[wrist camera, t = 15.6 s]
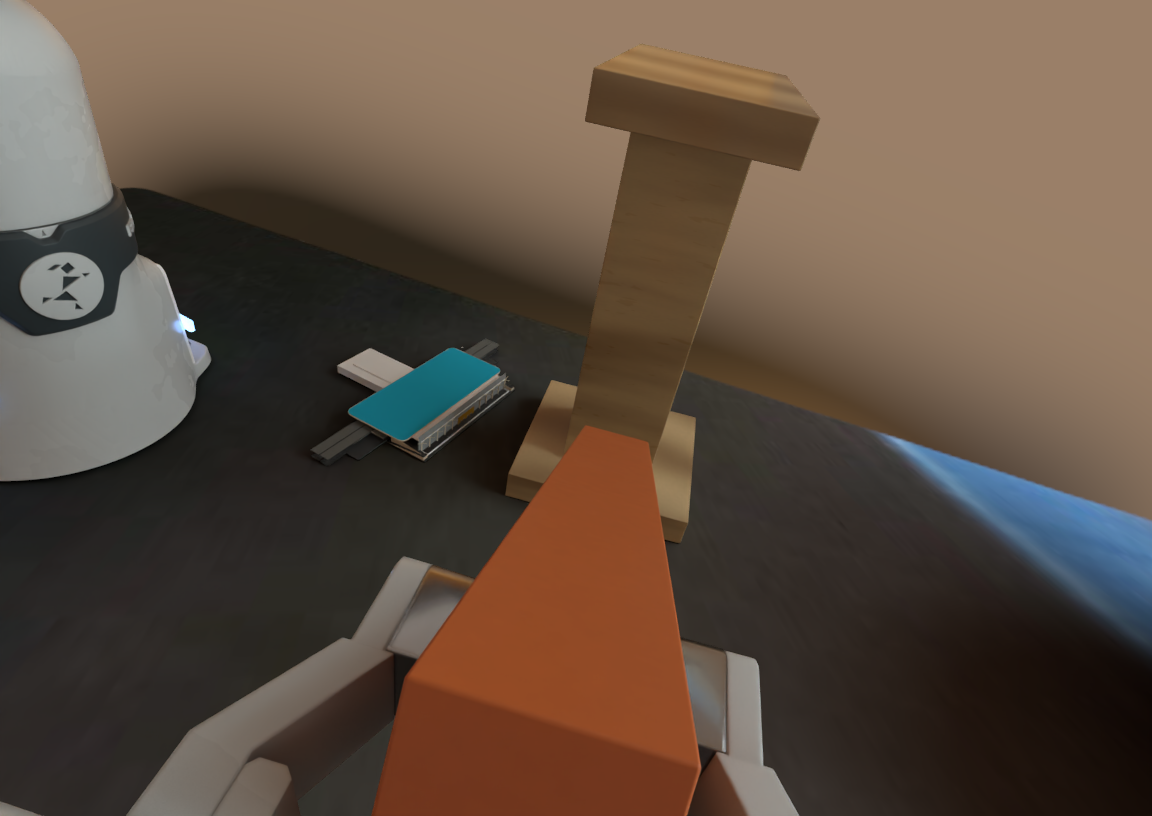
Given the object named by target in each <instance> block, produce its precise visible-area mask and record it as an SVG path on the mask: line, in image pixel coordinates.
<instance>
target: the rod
mask: <svg viewBox="0 0 1152 816" xmlns="http://www.w3.org/2000/svg"><path fill="white" fill-rule="evenodd" d="M700 771H701V763H700V757H699V750H698V744H697V738H696V732H695V726H694V720H693V714H692V707H691V701H690V695H689V689H688V683H687V677H686V671H685V664H684V658H683V652H682V646H681V640H680V634H679V628H678V622H677V615H676V609H675V603H674V597H673V591H672V585H671V579H670V572H669V566H668V560H667V554H666V548H665V542H664V536H663V529H662V523H661V517H660V511H659V505H658V499H657V493H656V487H655V480H654V474H653V468H652V462H651V456H650V450H649V444H648V442H646V441H643V440H639V439H635V438H632V437H628V436H624V435H620V434H617V433H613V432H609V431H606V430H602V429H598V428H595V427H591V426H587V425H585V426H584V428H583V429H582V431H581V432H580V433H579V435H578V436H577V438H576V439H575V440H574V442H573V443H572V445H571V446H570V447H569V449H568V450H567V451H566V453H565V454H564V456H563V457H562V458H561V460H560V461H559V463H558V464H557V465H556V467H555V468H554V470H553V471H552V472H551V474H550V475H549V477H548V478H547V479H546V481H545V482H544V484H543V485H542V486H541V488H540V489H539V491H538V492H537V493H536V495H535V496H534V498H533V499H532V500H531V502H530V503H529V505H528V506H527V507H526V509H525V510H524V511H523V513H522V514H521V516H520V517H519V518H518V520H517V521H516V523H515V524H514V525H513V527H512V528H511V530H510V531H509V532H508V534H507V535H506V537H505V538H504V539H503V541H502V542H501V544H500V545H499V546H498V548H497V549H496V551H495V552H494V553H493V555H492V556H491V558H490V559H489V560H488V562H487V563H486V565H485V566H484V567H483V569H482V570H481V572H480V573H479V574H478V576H477V577H476V578H475V580H474V581H473V583H472V584H471V585H470V587H469V588H468V590H467V591H466V592H465V594H464V595H463V597H462V598H461V599H460V601H459V602H458V604H457V605H456V606H455V608H454V609H453V611H452V612H451V613H450V615H449V616H448V618H447V619H446V620H445V622H444V623H443V625H442V626H441V627H440V629H439V630H438V632H437V633H436V634H435V636H434V637H433V638H432V640H431V641H430V643H429V644H428V645H427V647H426V648H425V650H424V651H423V652H422V654H421V655H420V657H419V658H418V659H417V661H416V662H415V664H414V665H413V666H412V668H411V669H410V671H409V672H408V673H407V675H406V676H405V678H404V682H403V686H402V691H401V695H400V699H399V703H398V707H397V711H396V716H395V720H394V724H393V728H392V732H391V736H390V740H389V745H388V749H387V753H386V757H385V761H384V765H383V770H382V774H381V778H380V782H379V786H378V790H377V795H376V799H375V803H374V807H373V811H372V815H371V816H687V814H688V811H689V807H690V804H691V801H692V797H693V794H694V791H695V787H696V784H697V781H698V777H699V774H700Z"/></svg>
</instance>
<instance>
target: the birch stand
mask: <svg viewBox="0 0 1152 816" xmlns="http://www.w3.org/2000/svg"><path fill="white" fill-rule="evenodd" d="M585 121H586V122H590V123H594V124H599V125H603V126H607V127H611V128H616V129H620V130H624V131H629V132H631V134H630V138H629V143H628V148H627V153H626V158H625V162H624V167H623V172H622V176H621V181H620V186H619V191H618V196H617V200H616V205H615V210H614V215H613V220H612V224H611V229H610V234H609V239H608V243H607V248H606V253H605V258H604V262H603V268H602V272H601V277H600V282H599V286H598V291H597V296H596V301H595V306H594V310H593V315H592V320H591V325H590V329H589V334H588V339H587V344H586V348H585V353H584V358H583V363H582V368H581V372H580V377H579V382H578V387H576V386H572V385H568V384H565V383H561V382H557V381H553V380H551V382H550V384H549V387H548V389H547V391H546V393H545V395H544V397H543V400H542V402H541V404H540V406H539V408H538V410H537V413H536V415H535V417H534V419H533V421H532V423H531V426H530V428H529V430H528V432H527V434H526V436H525V439H524V441H523V443H522V445H521V447H520V449H519V451H518V454H517V456H516V458H515V460H514V462H513V464H512V467H511V469H510V471H509V473H508V479H507V486H506V493H505V495H506V496H510V497H513V498H517V499H521V500H524V501H528V502H531V500H532V499H533V498H534V496H535V495H536V493H537V492H538V491H539V489H540V488H541V486H542V485H543V484H544V482H545V481H546V479H547V478H548V477H549V475H550V474H551V472H552V471H553V470H554V468H555V467H556V465H557V464H558V463H559V461H560V460H561V458H562V457H563V456H564V454H565V453H566V451H567V450H568V449H569V447H570V446H571V445H572V443H573V442H574V440H575V439H576V438H577V436H578V435H579V433H580V432H581V431H582V429H583V428H584V426H585V425H587V426H591V427H595V428H598V429H602V430H606V431H609V432H613V433H617V434H620V435H624V436H628V437H632V438H635V439H639V440H643V441H646V442H648V444H649V450H650V456H651V462H652V468H653V474H654V480H655V487H656V493H657V499H658V505H659V511H660V517H661V523H662V529H663V536H664V539H665V540H669V541H672V542H676V543H680V542H681V539H682V537H683V534H684V532H685V529H686V527H687V524H688V517H689V504H690V490H691V477H692V463H693V450H694V437H695V423H696V418H694V417H690V416H687V415H683V414H679V413H675V412H671V411H670V410H671V407H672V403H673V400H674V397H675V394H676V391H677V388H678V385H679V382H680V379H681V376H682V373H683V370H684V367H685V364H686V360H687V357H688V354H689V351H690V348H691V345H692V342H693V339H694V336H695V333H696V330H697V327H698V324H699V321H700V318H701V315H702V312H703V308H704V306H705V302H706V299H707V296H708V293H709V290H710V287H711V284H712V281H713V278H714V275H715V272H716V269H717V266H718V262H719V259H720V256H721V253H722V250H723V247H724V244H725V241H726V238H727V235H728V232H729V229H730V226H731V223H732V220H733V217H734V213H735V211H736V208H737V204H738V201H739V198H740V195H741V192H742V189H743V186H744V183H745V180H746V177H747V174H748V171H749V168H750V165H751V162H752V160H754V161H759V162H763V163H767V164H772V165H776V166H781V167H785V168H789V169H793V170H798V171H800V170H801V168H802V166H803V163H804V161H805V158H806V156H807V153H808V150H809V148H810V145H811V142H812V140H813V137H814V134H815V132H816V129H817V126H818V123H819V121H820V117H819V116H818V115H817V114H816V112H815V111H814V110H813V109H812V107H811V106H810V105H809V104H808V102H807V101H806V100H805V99H804V97H803V96H802V95H801V93H800V92H799V91H798V90H797V88H796V87H795V86H794V85H793V83H792V82H791V81H790V79H789V78H788V77H787V76H786V75H781V74H776V73H772V72H767V71H763V70H758V69H753V68H749V67H745V66H740V65H735V64H730V63H726V62H722V61H717V60H713V59H708V58H704V57H699V56H694V55H689V54H685V53H681V52H676V51H672V50H667V49H663V48H658V47H654V46H649V45H645V44H640V45H638V46H636V47H634V48H632V49H630V50H628V51H626V52H624V53H622V54H620V55H618V56H616V57H614V58H612V59H610V60H608V61H606V62H605V63H603V64H600V65H599V66H597V67H595V68H594V70H593V76H592V82H591V88H590V94H589V100H588V106H587V112H586V118H585Z"/></svg>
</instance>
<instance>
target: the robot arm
mask: <svg viewBox="0 0 1152 816" xmlns="http://www.w3.org/2000/svg"><path fill="white" fill-rule="evenodd" d="M137 253H138V245H137V241H136V238H135V234H134V223H133V219H132V216H131V213H130V210H128V208H127V206H126V203H125V200H124V197H123V194H122V192H121V190H120V189H119V188H118V187H116V186H115V185H114V184H113V183H111V181H110V177H109V174H108V170H107V166H106V162H105V159H104V155H103V151H102V147H101V144H100V140H99V136H98V133H97V129H96V126H95V122H94V118H93V114H92V111H91V107H90V104H89V99H88V96H87V92H86V88H85V85H84V81H83V77H82V74H81V70H80V66H79V63H78V60H77V58H76V56H75V55H74V53H73V51H72V50H71V48H70V46H69V45H68V43H67V42H66V41H65V39H64V38H63V37H62V36H61V34H60V33H59V32H58V31H57V30H56V28H55V27H54V26H53V25H52V24H51V23H50V22H49V21H48V20H47V19H46V18H45V17H44V16H43V15H42V14H41V13H39V11H38V10H37V9H35V8H34V7H33V6H32V5H31V4H29V3H28V2H27V1H26V0H0V481H23V480H35V479H43V478H51V477H57V476H62V475H68V474H72V473H77V472H81V471H85V470H89V469H92V468H96V467H99V466H102V465H105V464H108V463H111V462H114V461H116V460H119V459H121V458H124V457H126V456H129V455H131V454H133V453H135V452H137V451H139V450H141V449H143V448H145V447H147V446H149V445H151V444H152V443H154V442H156V441H157V440H159V439H160V438H162V437H163V436H165V435H166V434H167V433H169V432H170V431H171V430H172V429H174V428H175V427H176V426H177V425H178V424H179V423H180V422H181V421H182V420H183V419H184V418H185V416H186V415H187V414H188V412H189V411H190V409H191V407H192V405H193V403H194V399H195V394H196V381H197V379H198V377H199V376H200V375H201V374H202V373H203V372H204V370H205V369H206V368H207V367H208V365H209V364H210V362H211V357H210V354H209V351H208V349H207V347H206V346H205V345H203V344H201V343H198V342H196V341H193V340H190V339H188V338H187V336H186V332H185V329H186V330H188V331H190V332H193V331H195V329H194V324H193V321H191V320H190V319H188V318H186V317H184V316H183V315H181V314H179V311H178V308H177V305H176V302H175V299H174V296H173V293H172V290H171V287H170V284H169V281H168V278H167V276H166V273H165V271H164V270H163V268H162V267H161V266H160V265H159V264H155V263H154V262H152V261H151V260H149V259H148V258H145V257H143V256H141V255H138V254H137ZM474 580H475V578H473V577H470V576H466V575H463V574H460V573H457V572H453V571H450V570H447V569H444V568H441V567H437V566H434V565H432V564H428V563H425V562H422V561H418V560H415V559H411V558H408V557H404V556H403V557H402V558H401V559H400V560H399V561H398V562H397V564H396V565H395V566H394V568H393V570H392V571H391V573H390V575H389V577H388V578H387V580H386V582H385V583H384V585H383V587H382V588H381V590H380V592H379V593H378V595H377V597H376V599H375V600H374V602H373V604H372V605H371V607H370V609H369V610H368V612H367V614H366V615H365V617H364V619H363V621H362V622H361V624H360V626H359V627H358V629H357V631H356V632H355V634H354V636H353V637H352V639H351V640H350V639H346V638H341V639H339V640H338V641H336V642H334V643H333V644H331V645H329V646H328V647H326V648H324V649H323V650H321V651H319V652H318V653H316V654H314V655H313V656H311V657H309V658H308V659H306V660H305V661H303V662H301V663H300V664H298V665H296V666H295V667H293V668H291V669H290V670H288V671H286V672H285V673H283V674H281V675H280V676H278V677H276V678H275V679H273V680H272V681H270V682H268V683H267V684H265V685H263V686H262V687H260V688H258V689H257V690H255V691H253V692H252V693H250V694H248V695H247V696H245V697H243V698H242V699H240V700H239V701H237V702H235V703H234V704H232V705H230V706H229V707H227V708H225V709H224V710H222V711H220V712H219V713H217V714H215V715H214V716H212V717H211V718H209V719H207V720H206V721H204V722H202V723H201V724H199V725H197V726H196V727H194V728H192V729H191V730H189V731H188V733H187V734H186V735H185V737H184V738H183V739H182V741H181V742H180V744H179V745H178V746H177V748H176V749H175V750H174V752H173V753H172V754H171V756H170V757H169V758H168V760H167V761H166V762H165V764H164V765H163V766H162V768H161V769H160V771H159V772H158V773H157V775H156V776H155V777H154V779H153V780H152V781H151V783H150V784H149V785H148V787H147V788H146V789H145V791H144V792H143V793H142V795H141V796H140V797H139V799H138V800H137V802H136V803H135V804H134V806H133V807H132V808H131V810H130V811H129V812H128V814H127V815H126V816H301V815H300V811H299V807H298V803H297V801H298V800H299V799H300V798H301V797H302V796H304V795H305V794H306V793H307V792H308V791H309V790H311V789H312V788H313V787H314V786H315V785H317V784H318V783H319V782H320V781H321V780H322V779H324V778H325V777H326V776H327V775H328V774H330V773H331V772H332V771H333V770H334V769H336V768H337V767H338V766H339V765H340V764H341V763H343V762H344V761H345V760H346V759H347V758H349V757H350V756H351V755H352V754H353V753H354V752H356V751H357V750H358V749H359V748H360V747H362V746H363V745H364V744H365V743H366V742H368V741H369V740H370V739H371V738H372V737H373V736H375V735H376V734H377V733H378V732H379V731H381V730H382V729H383V728H384V727H385V726H387V725H388V724H389V723H390V722H391V721H392V720H394V715H395V716H396V711H397V707H398V703H399V699H400V695H401V691H402V686H403V682H404V678H405V676H406V675H407V673H408V672H409V671H410V669H411V668H412V666H413V665H414V664H415V662H416V661H417V659H418V658H419V657H420V655H421V654H422V652H423V651H424V650H425V648H426V647H427V645H428V644H429V643H430V641H431V640H432V638H433V637H434V636H435V634H436V633H437V632H438V630H439V629H440V627H441V626H442V625H443V623H444V622H445V620H446V619H447V618H448V616H449V615H450V613H451V612H452V611H453V609H454V608H455V606H456V605H457V604H458V602H459V601H460V599H461V598H462V597H463V595H464V594H465V592H466V591H467V590H468V588H469V587H470V585H471V584H472V583H473V581H474ZM680 640H681V646H682V652H683V658H684V664H685V671H686V677H687V683H688V689H689V695H690V701H691V707H692V714H693V720H694V726H695V732H696V738H697V744H698V750H699V757H700V763H701V771H700V774H699V777H698V781H697V784H696V787H695V791H694V794H693V797H692V801H691V804H690V807H689V811H688V814H687V816H799V815H798V813H797V811H796V809H795V808H794V806H793V804H792V802H791V800H790V799H789V797H788V795H787V793H786V791H785V790H784V788H783V786H782V784H781V782H780V781H779V779H778V777H777V775H776V774H775V772H774V770H773V769H772V768H769V767H766V766H763V747H762V725H761V703H760V681H759V666H758V664H757V662H756V660H755V659H753V658H750V657H746V656H743V655H739V654H735V653H731V652H728V651H724V650H723V649H721V648H718V647H714V646H710V645H707V644H703V643H699V642H696V641H692V640H689V639H685V638H681V637H680ZM0 816H42V815H39V814H36V813H33V812H30V811H27V810H24V809H21V808H18V807H15V806H12V805H9V804H6V803H3V802H0Z"/></svg>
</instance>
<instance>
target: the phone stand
mask: <svg viewBox="0 0 1152 816" xmlns="http://www.w3.org/2000/svg"><path fill="white" fill-rule="evenodd" d="M491 342H492V341H490V340H487V339H484V340H483V341H481V342H479V343H478V344H476V345H475V346H473V347H472V348H469V349H468V350H466V351H464V352H463V351H460V350H458V349H456V348H449V349H447V350H445V351H444V352H442V353H440V354H439V355H437V356H435V357H434V358H432V359H431V360H429V361H427V362H426V363H424V364H422V365H421V366H419V367H417V368H416V369H413V368H411V367H409V366H406V365H404V364H402V363H400V362H398V361H396V360H394V359H392V358H390V357H388V356H386V355H383V354H381V353H379V352H377V351H375V350H373V349H371V348H370V349H368V350H366V351H364V352H362V353H360V354H358V355H356V356H354V357H352V358H350V359H349V360H347V361H345V362H343V363H341V364H339V365H337V367H338V373H340V374H342V375H344V376H346V377H348V378H350V379H352V380H354V381H356V382H358V383H360V384H362V385H364V386H366V387H368V388H370V389H372V390H374V391H376V393H375V394H373V395H371V396H370V397H368V398H366V399H365V400H363V401H361V402H360V403H358V404H356V405H355V406H353V407H351V408H350V409H349V410H348V414H349V415H350V416H352V417H354V418H355V419H357V420H355V421H354V422H352V423H351V424H349V425H348V426H346V427H344V428H343V429H341V430H340V431H338V432H336V433H335V434H334V435H333V436H331V437H330V438H328V439H327V440H325V441H323V442H322V443H320V444H319V445H317V446H316V447H314V448H312V449H311V450H312V451H313V452H315V453H314V454H313V455H311V457H313V458H315V459H317V460H318V461H319V460H320V459H322V458H323V457H324V459H322V460H321V461H320V462H322V463H324V464H325V465H327V466H329V465H330V464H332V463H333V462H335V461H336V460H338V459H339V458H340V457H342V456H343V455H345V454H347V455H349V456H351V457H353V458H354V459H356V460H358V461H359V460H360V459H362V458H363V457H364V456H366V455H367V454H369V453H370V452H372V451H373V450H374V449H376V448H377V447H379V446H380V445H381V444H383V443H384V442H387V440H389V439H390V438H391V442H387V443H389V444H391V445H393V446H395V447H397V448H398V449H400V450H402V451H404V452H406V453H408V454H410V455H412V456H413V457H415V458H417V459H419V460H421V461H423V462H426V461H427V460H428V459H429V458H431V457H432V456H433V455H434V454H436V453H437V452H438V451H439V450H441V449H442V448H443V447H444V446H446V445H447V444H448V443H449V442H451V441H452V440H453V439H454V438H456V437H457V436H458V435H459V434H461V433H462V432H463V431H464V430H466V429H467V428H468V427H469V426H471V425H472V424H473V423H474V422H476V421H477V420H478V419H479V418H481V417H482V416H483V415H484V414H486V413H487V412H488V411H489V410H491V409H492V408H493V407H495V406H496V405H497V404H498V403H500V402H501V401H502V400H503V399H505V398H506V397H507V396H508V395H510V394H511V393H512V392H513V391H515V389H514V386H513V385H510V384H507V383H505V381H509V380H506V379H507V378H506V373H505V374H503V375H502V376H501V377H500V376H497V375H498V374H499V373H500V369H499V368H498V367H496V366H493V365H495V364H496V363H498V362H497V361H495V360H493V359H491V358H489V356H491V355H492V354H494V353H495V352H497V351H498V350H497V349H495V348H496V347H497V346H499V344H496V343H494V342H492V343H491ZM489 343H491V344H489ZM488 344H489V345H488ZM461 348H463V347H461ZM507 377H508V376H507ZM505 378H506V379H505Z"/></svg>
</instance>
